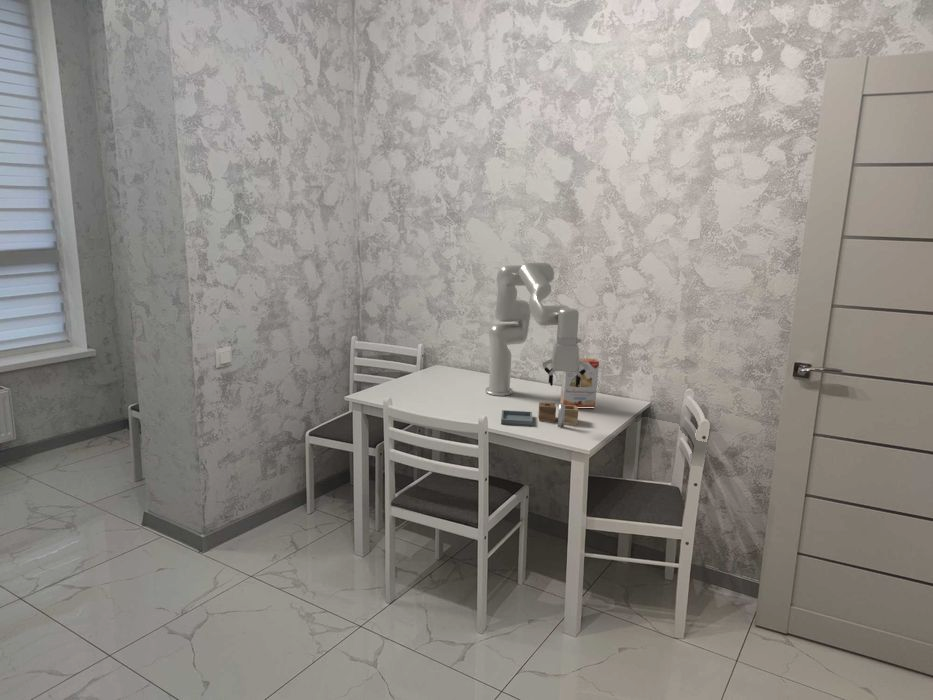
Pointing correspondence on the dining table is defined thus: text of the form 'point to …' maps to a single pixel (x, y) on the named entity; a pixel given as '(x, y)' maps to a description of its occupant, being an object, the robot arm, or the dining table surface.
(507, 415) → the tray
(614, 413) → the dining table surface
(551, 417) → the walnut block
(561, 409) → the steel pin
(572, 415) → the oak block
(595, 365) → the cracker box
